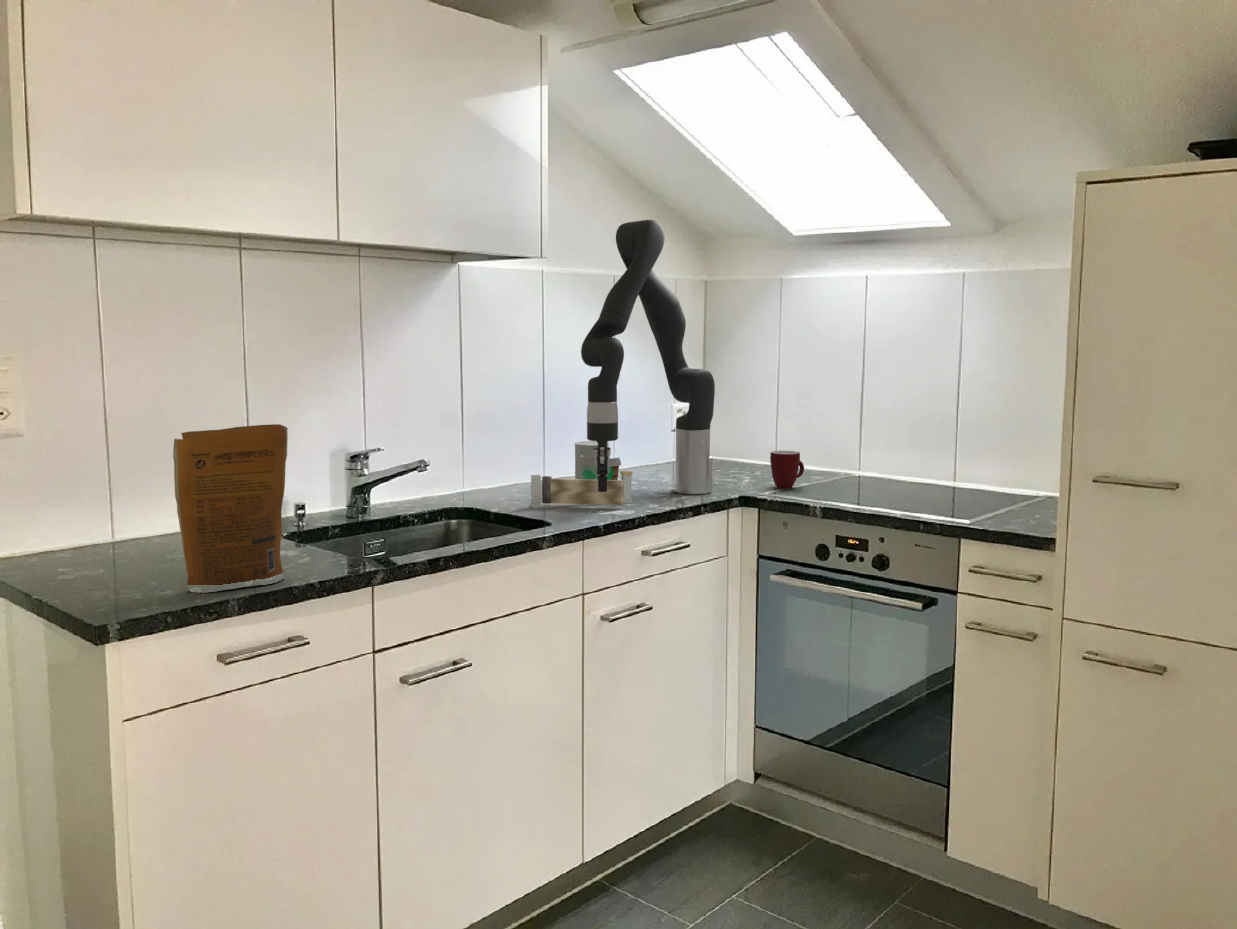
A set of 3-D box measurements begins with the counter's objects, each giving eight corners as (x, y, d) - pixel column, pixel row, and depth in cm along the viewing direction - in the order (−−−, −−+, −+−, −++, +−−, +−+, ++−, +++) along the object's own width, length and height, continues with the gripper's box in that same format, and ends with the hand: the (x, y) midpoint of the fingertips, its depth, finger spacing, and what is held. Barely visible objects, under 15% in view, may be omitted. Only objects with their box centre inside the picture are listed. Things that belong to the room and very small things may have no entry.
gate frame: (533, 509, 245) (533, 476, 244) (529, 506, 249) (529, 474, 248) (633, 502, 254) (633, 471, 253) (627, 500, 258) (628, 469, 257)
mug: (789, 484, 284) (790, 449, 283) (811, 487, 278) (812, 452, 277) (763, 487, 278) (764, 452, 276) (785, 491, 272) (786, 455, 270)
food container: (569, 494, 267) (569, 457, 265) (581, 491, 272) (580, 454, 270) (610, 498, 261) (610, 460, 259) (621, 494, 266) (621, 457, 265)
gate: (541, 503, 247) (541, 477, 246) (543, 501, 250) (543, 476, 249) (622, 505, 245) (622, 479, 244) (623, 503, 247) (623, 477, 246)
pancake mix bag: (299, 583, 175) (292, 424, 171) (183, 600, 165) (172, 431, 161) (289, 575, 181) (282, 421, 177) (175, 590, 170) (165, 427, 166)
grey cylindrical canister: (577, 484, 284) (577, 441, 282) (610, 484, 283) (610, 441, 281) (572, 489, 274) (572, 445, 273) (607, 490, 273) (607, 445, 272)
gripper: (618, 422, 235) (618, 495, 237) (617, 418, 248) (617, 487, 250) (586, 422, 235) (586, 495, 237) (587, 418, 248) (587, 487, 250)
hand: (602, 491), depth 243 cm, fingers closed
